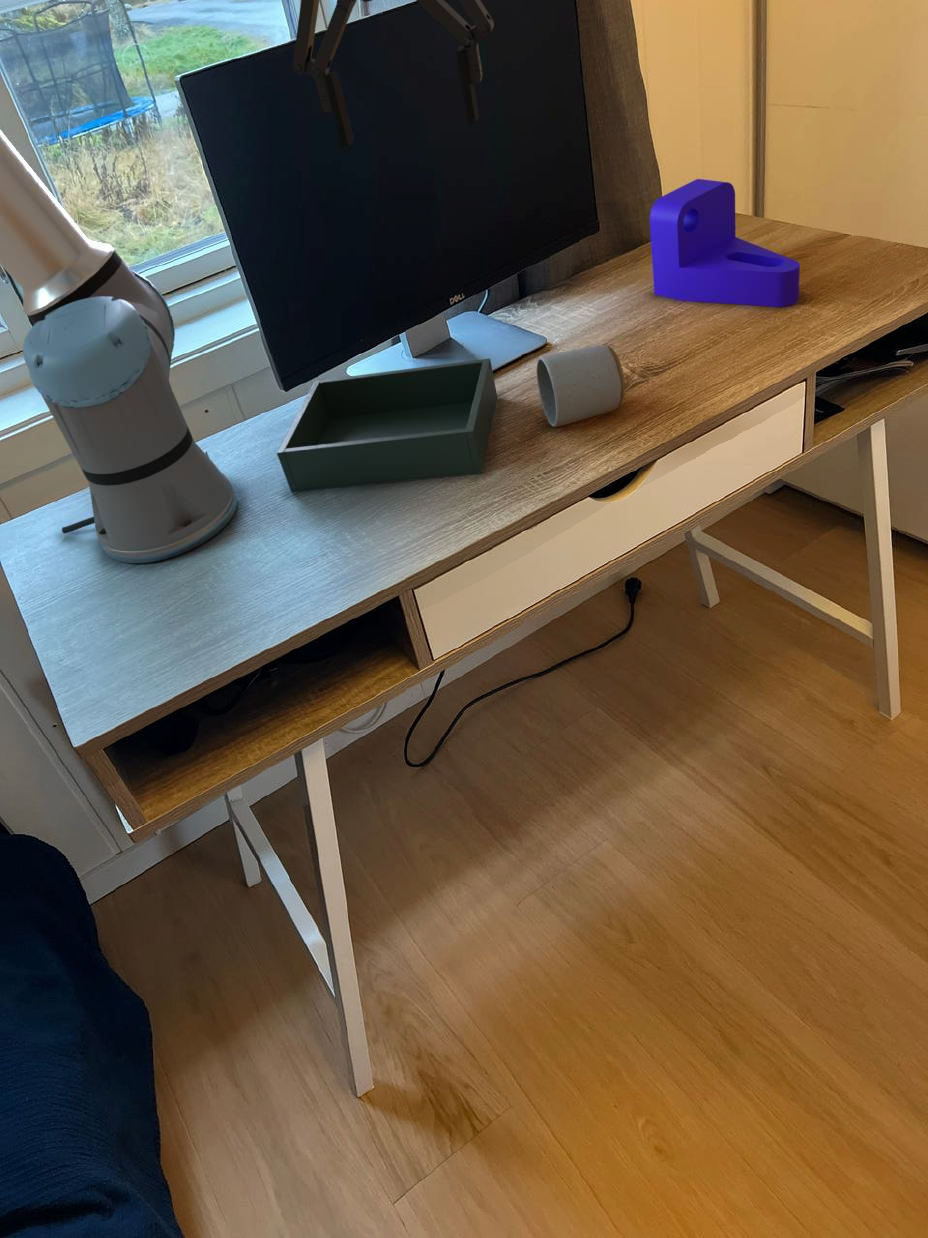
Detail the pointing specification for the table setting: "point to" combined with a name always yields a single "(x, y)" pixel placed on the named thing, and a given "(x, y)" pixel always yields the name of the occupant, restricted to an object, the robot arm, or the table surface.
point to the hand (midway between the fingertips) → (410, 132)
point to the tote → (391, 427)
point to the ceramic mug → (580, 383)
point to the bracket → (714, 252)
